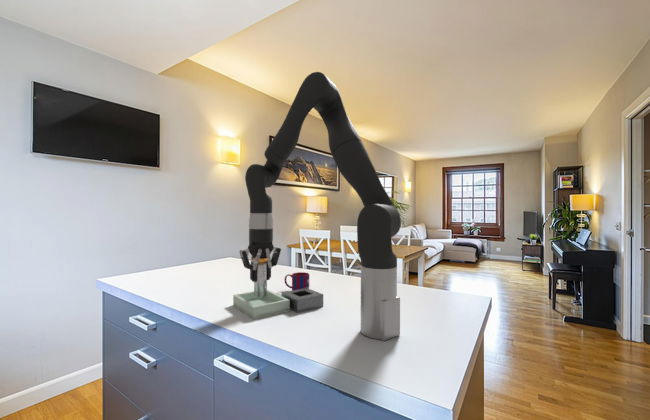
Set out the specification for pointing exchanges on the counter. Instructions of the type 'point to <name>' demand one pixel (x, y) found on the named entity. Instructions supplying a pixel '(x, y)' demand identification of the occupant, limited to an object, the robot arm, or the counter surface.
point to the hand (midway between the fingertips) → (260, 280)
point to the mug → (299, 280)
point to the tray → (261, 304)
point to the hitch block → (303, 299)
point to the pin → (261, 278)
